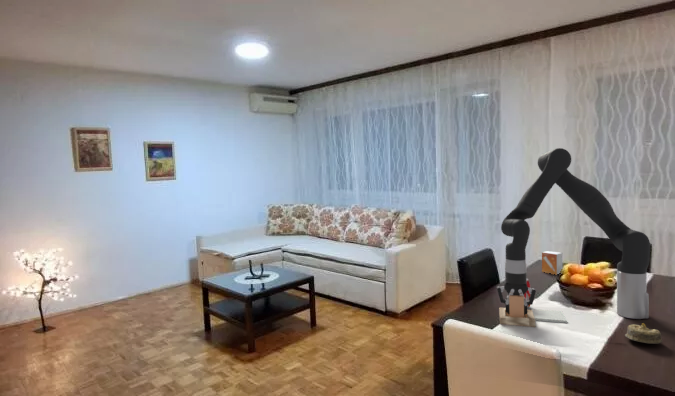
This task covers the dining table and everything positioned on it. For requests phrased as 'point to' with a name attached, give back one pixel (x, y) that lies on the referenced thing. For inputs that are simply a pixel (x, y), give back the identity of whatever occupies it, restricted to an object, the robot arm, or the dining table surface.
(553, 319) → the tile
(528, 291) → the soda can
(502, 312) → the pocket frame
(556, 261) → the small box
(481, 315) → the dining table surface
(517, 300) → the block
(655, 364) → the dining table surface
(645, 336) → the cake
